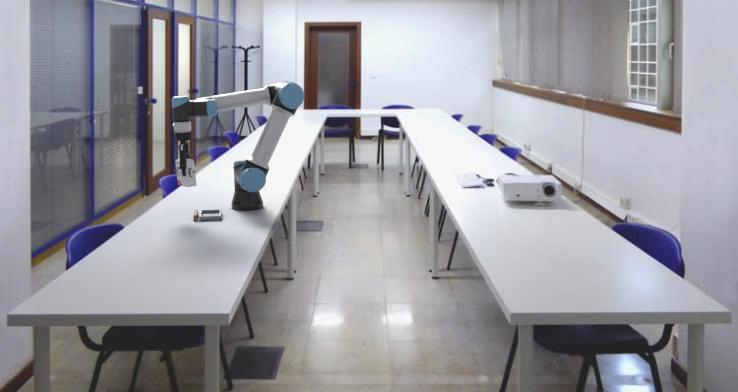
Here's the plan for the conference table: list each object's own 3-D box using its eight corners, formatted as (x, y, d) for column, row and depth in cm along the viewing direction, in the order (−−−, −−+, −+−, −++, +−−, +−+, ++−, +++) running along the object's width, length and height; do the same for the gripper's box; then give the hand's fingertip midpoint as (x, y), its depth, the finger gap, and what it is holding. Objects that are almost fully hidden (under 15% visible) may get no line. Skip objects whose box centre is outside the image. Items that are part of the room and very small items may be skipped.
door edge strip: (198, 214, 328) (198, 209, 328) (197, 220, 317) (196, 215, 316) (195, 214, 328) (194, 209, 328) (193, 220, 317) (193, 215, 316)
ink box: (176, 185, 321) (174, 159, 318) (186, 183, 324) (184, 157, 322) (187, 187, 315) (185, 161, 312) (197, 185, 318) (195, 159, 316)
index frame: (221, 213, 331) (221, 209, 331) (221, 219, 318) (221, 215, 318) (200, 214, 329) (200, 210, 329) (199, 221, 316) (199, 216, 316)
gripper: (177, 128, 325) (181, 177, 329) (170, 134, 303) (174, 186, 308) (194, 128, 326) (198, 176, 330) (187, 133, 304) (192, 185, 309)
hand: (186, 181), depth 319 cm, fingers closed on ink box, 9 cm apart
